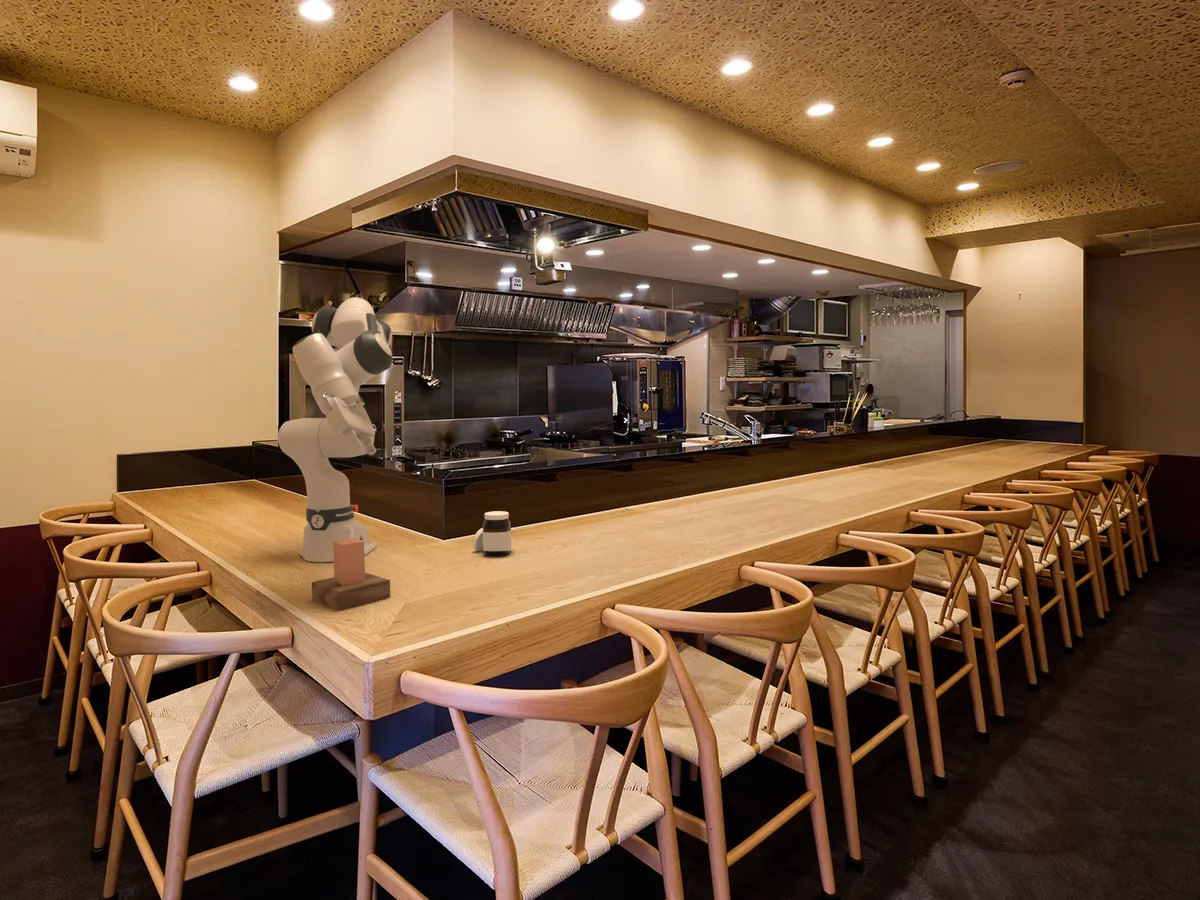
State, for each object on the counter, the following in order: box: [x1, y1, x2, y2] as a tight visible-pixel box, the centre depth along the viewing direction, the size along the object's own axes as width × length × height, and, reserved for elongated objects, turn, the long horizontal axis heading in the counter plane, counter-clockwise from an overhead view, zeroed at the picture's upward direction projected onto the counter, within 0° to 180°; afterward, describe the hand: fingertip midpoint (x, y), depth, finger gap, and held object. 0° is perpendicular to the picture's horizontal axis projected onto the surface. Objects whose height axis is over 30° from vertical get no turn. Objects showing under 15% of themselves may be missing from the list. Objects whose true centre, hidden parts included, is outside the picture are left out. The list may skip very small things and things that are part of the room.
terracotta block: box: [333, 538, 366, 586], centre depth 153 cm, size 5×5×9 cm
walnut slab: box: [311, 572, 391, 612], centre depth 154 cm, size 12×12×4 cm
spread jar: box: [471, 510, 512, 557], centre depth 198 cm, size 12×11×12 cm
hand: (366, 451), depth 156 cm, fingers open, 8 cm apart
